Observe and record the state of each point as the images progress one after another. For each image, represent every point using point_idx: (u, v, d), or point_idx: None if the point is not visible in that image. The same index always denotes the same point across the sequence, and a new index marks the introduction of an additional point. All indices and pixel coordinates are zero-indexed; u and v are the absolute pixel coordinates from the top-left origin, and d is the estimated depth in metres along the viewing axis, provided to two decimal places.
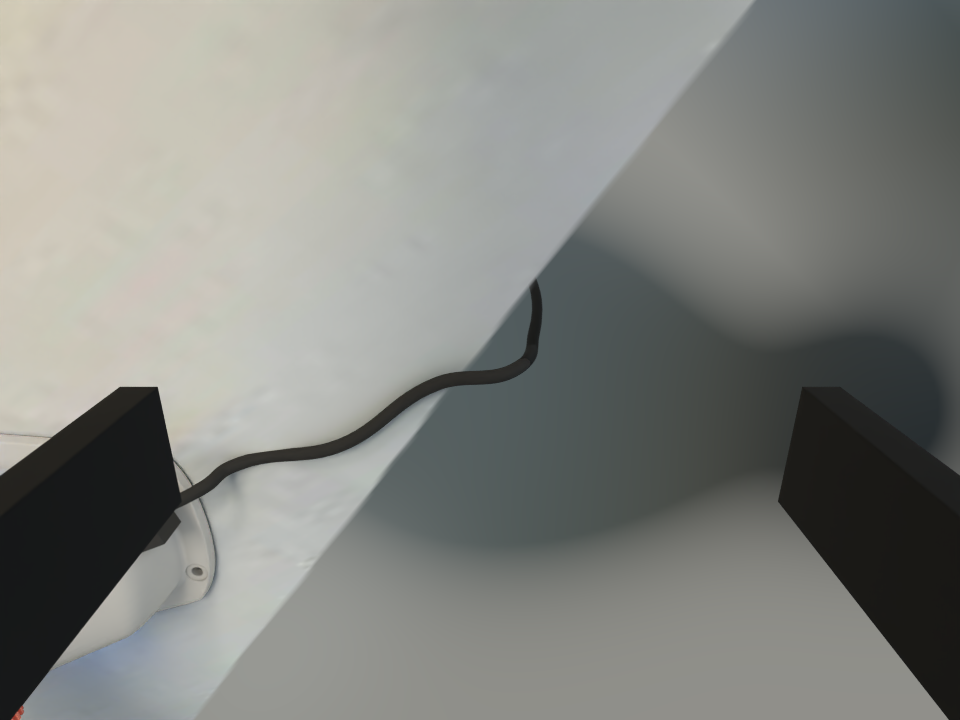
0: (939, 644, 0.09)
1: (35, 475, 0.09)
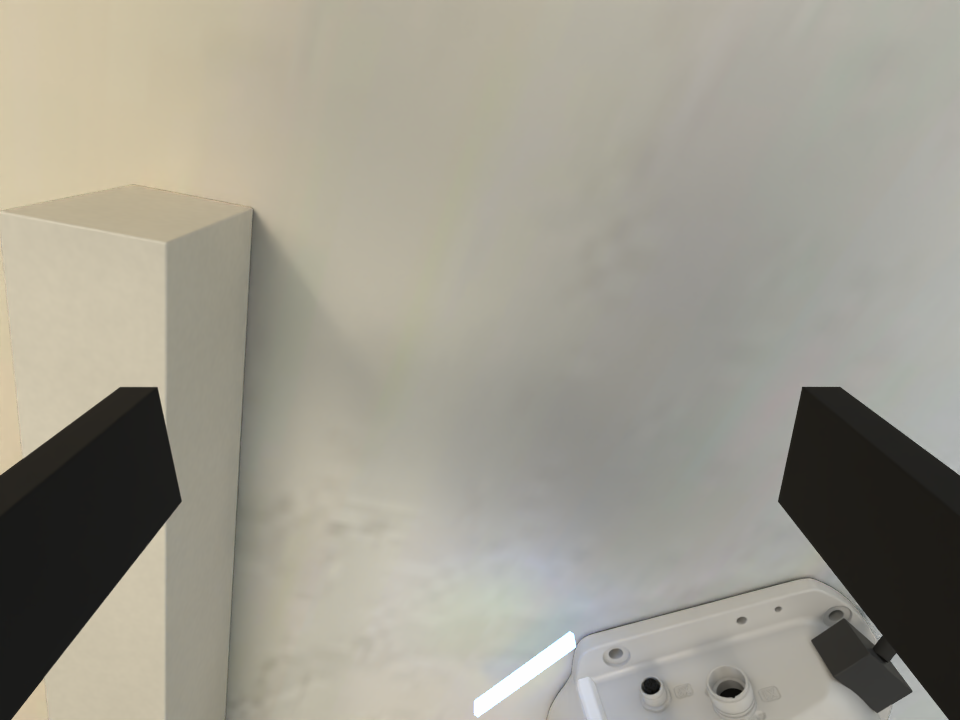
0: (939, 644, 0.09)
1: (35, 475, 0.09)
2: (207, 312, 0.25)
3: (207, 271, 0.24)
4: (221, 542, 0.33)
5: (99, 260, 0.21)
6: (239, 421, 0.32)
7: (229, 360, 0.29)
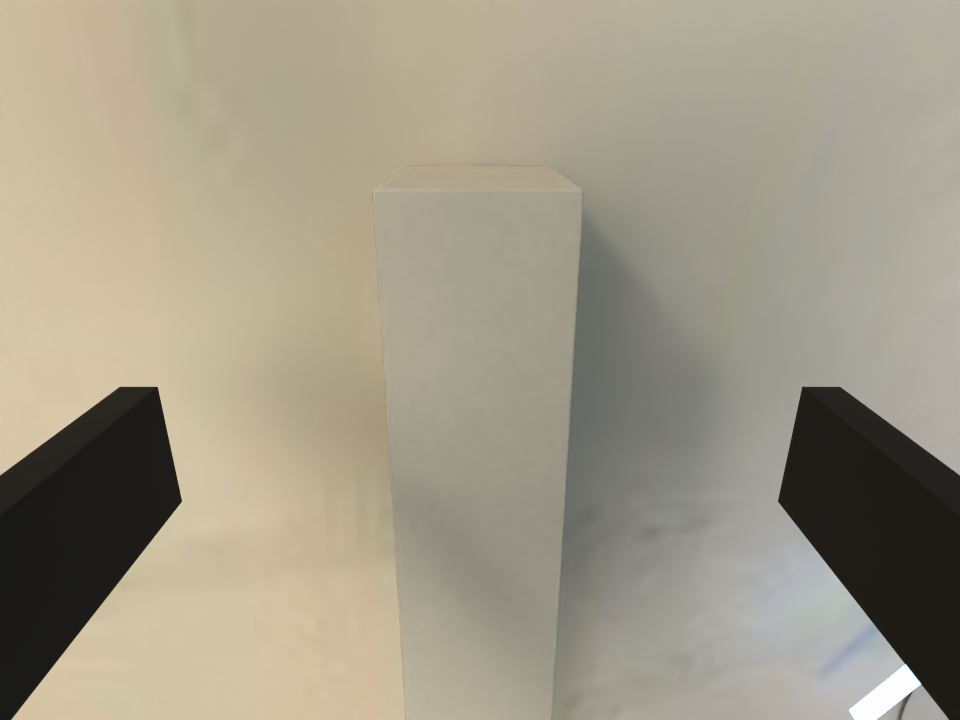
0: (939, 644, 0.09)
1: (35, 475, 0.09)
2: None
3: None
4: None
5: (497, 229, 0.16)
6: None
7: None
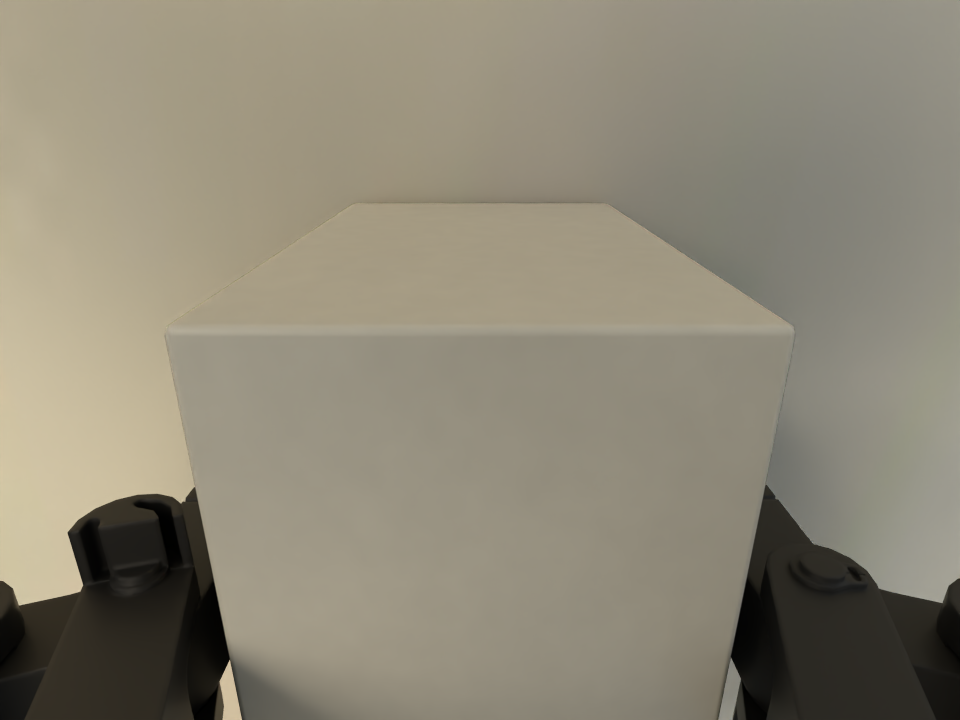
0: None
1: None
2: None
3: None
4: None
5: (536, 435, 0.06)
6: None
7: None
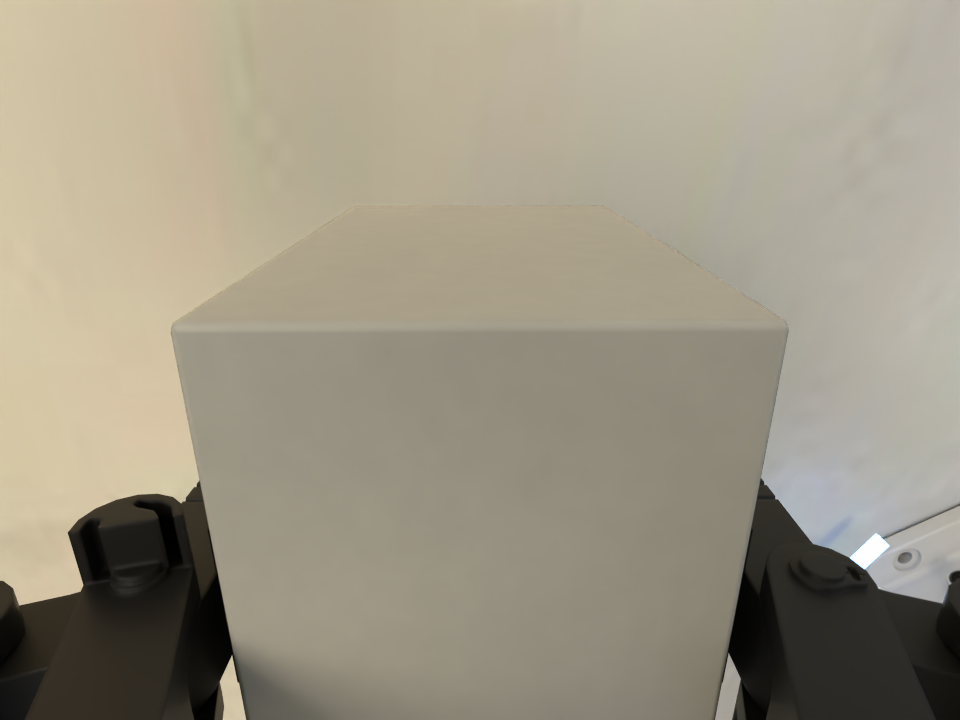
0: None
1: None
2: None
3: None
4: None
5: (535, 429, 0.06)
6: None
7: None
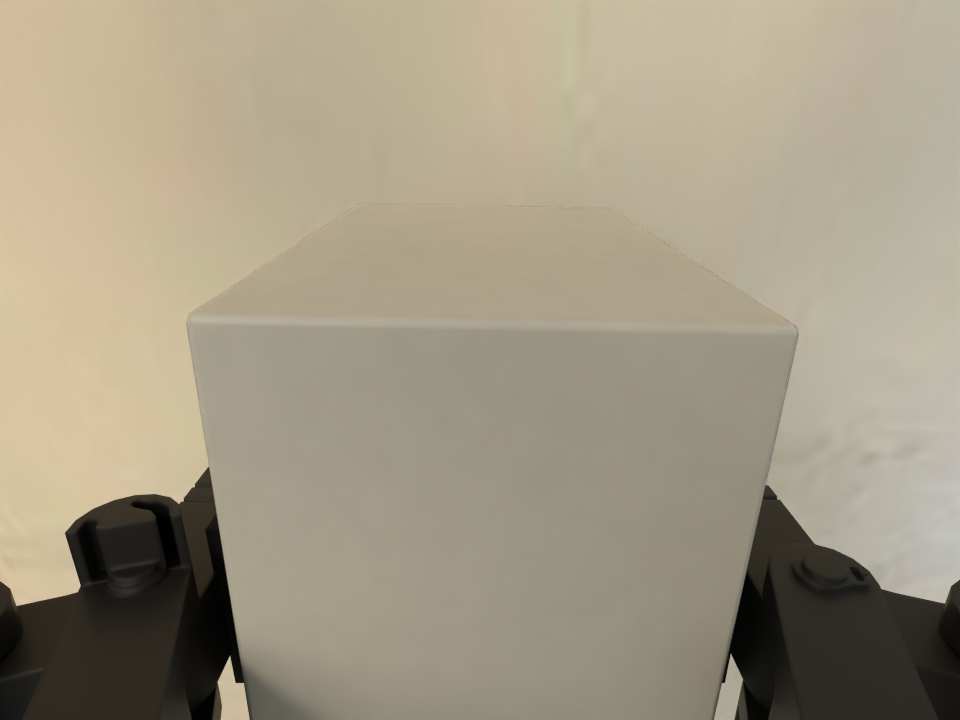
0: None
1: None
2: None
3: None
4: None
5: (545, 427, 0.06)
6: None
7: None
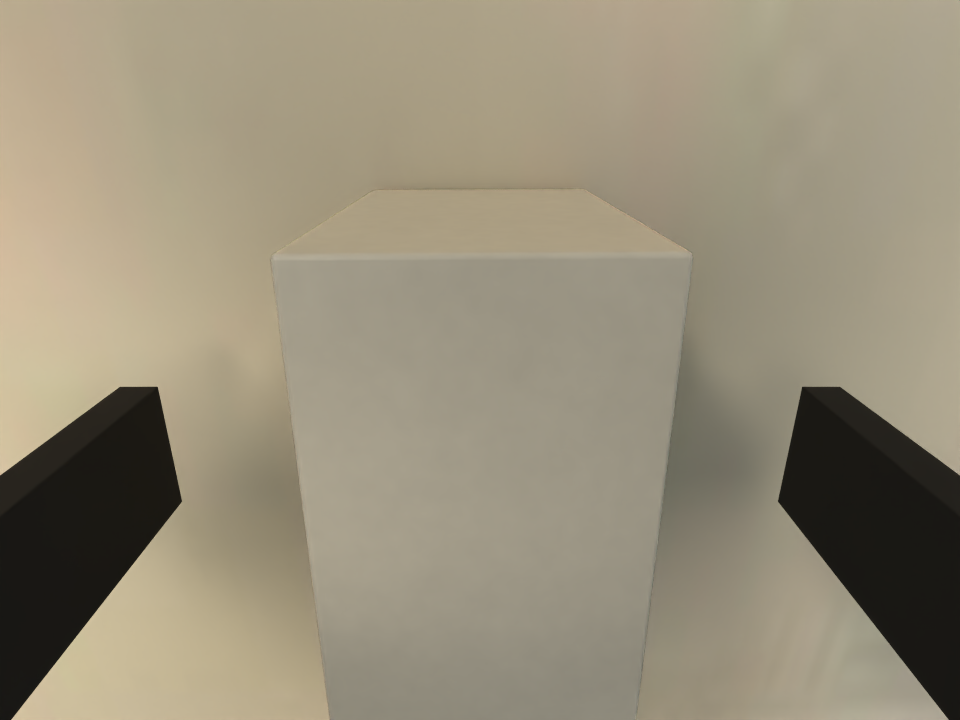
0: (938, 644, 0.09)
1: (35, 475, 0.09)
2: None
3: None
4: None
5: (520, 330, 0.08)
6: None
7: None
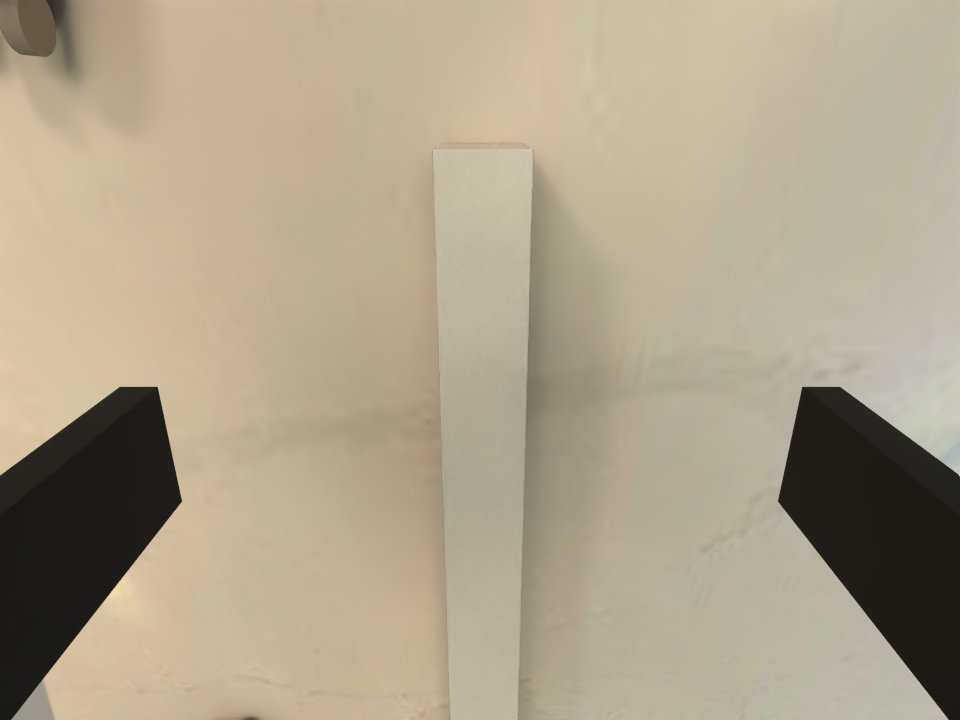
0: (939, 644, 0.09)
1: (35, 475, 0.09)
2: None
3: None
4: None
5: (492, 168, 0.34)
6: None
7: None
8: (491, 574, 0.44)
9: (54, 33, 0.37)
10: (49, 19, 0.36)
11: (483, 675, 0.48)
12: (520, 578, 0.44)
